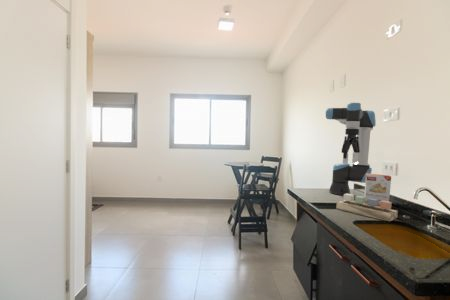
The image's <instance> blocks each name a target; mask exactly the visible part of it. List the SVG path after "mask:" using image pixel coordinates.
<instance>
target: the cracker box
mask: <svg viewBox="0 0 450 300" xmlns="http://www.w3.org/2000/svg"><path fill="white" fill-rule="evenodd" d="M391 182H392V176H390V175H389V174H377V173H371V174H367V173H366V181H365V183H364V195H363V197H366V201H365V203H364V204H367V199H369V198H373V199H378V207H380V201H383V200H384V201H389V202H390V197H391V196H390V194H391V187H392V186H391V184H392V183H391Z"/></svg>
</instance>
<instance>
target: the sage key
mask: <svg viewBox="0 0 450 300" xmlns="http://www.w3.org/2000/svg"><path fill="white" fill-rule="evenodd" d="M354 201H355V203H358V206H362V204H364V203H365V201H366V197H364V195H363V196H361V195H356V196H355V195H354Z"/></svg>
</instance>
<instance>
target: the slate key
mask: <svg viewBox="0 0 450 300" xmlns="http://www.w3.org/2000/svg"><path fill="white" fill-rule="evenodd" d="M367 205H369V206H371V207H370V208H371V209H374V207H375V206H378V199H373V198H369V199H367Z"/></svg>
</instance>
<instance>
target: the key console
mask: <svg viewBox="0 0 450 300" xmlns="http://www.w3.org/2000/svg"><path fill="white" fill-rule="evenodd" d="M370 207H371V206H369V205H367V204H362V206H358V203H355V200H353V201H350V204H348V203H347V201H346V200H339V201H336V208H335V209H336V210H341V211H345V212H349V213H352V214H357V215H361V216H365V217H370V218H374V219H378V220H382V221H385V222H391V221H393V220H395V219H397V218H398V214H399V211H398V210H397V209H392V208H391V209H389V210H388V209H387V212H384V211H383V210H384V209H383V208H380V207H378V206H375V207H374V209H371V208H370Z"/></svg>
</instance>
